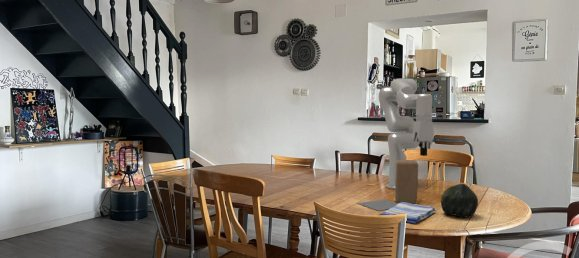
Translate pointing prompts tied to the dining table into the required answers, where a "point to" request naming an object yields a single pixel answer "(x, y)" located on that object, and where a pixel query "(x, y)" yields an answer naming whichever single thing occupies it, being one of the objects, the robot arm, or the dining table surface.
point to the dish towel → (411, 211)
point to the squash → (459, 201)
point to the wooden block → (406, 181)
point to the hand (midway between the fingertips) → (423, 155)
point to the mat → (379, 204)
